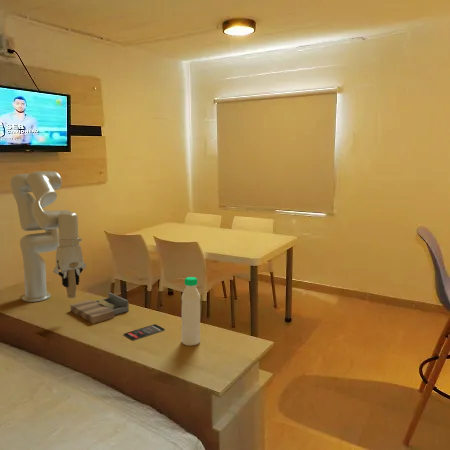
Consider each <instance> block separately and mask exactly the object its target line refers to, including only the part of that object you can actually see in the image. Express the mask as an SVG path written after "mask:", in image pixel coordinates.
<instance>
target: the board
mask: <svg viewBox="0 0 450 450" xmlns="http://www.w3.org/2000/svg"><path fill="white" fill-rule="evenodd" d="M95 301H96V300H93V299H87V300H83V301H80V302H76V303H72V304H70V306H69V308H70V312H71V313H73V314H75V315H77V316H78V317H80V318H81V319H84V320H85V321H86V322H88V323H91V324H92V325H94V324H96V323H97V324H98V323H101V322H105V321H107V320H110V319H115V316H114V311H113V310H111V309H109V308H107V307H105V306H103V305H101V304H99V303H97V302H95Z"/></svg>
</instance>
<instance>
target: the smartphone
mask: <svg viewBox="0 0 450 450" xmlns="http://www.w3.org/2000/svg"><path fill="white" fill-rule="evenodd" d="M161 332H165V328H163V327H162V326H161V325H158V324H155V323H154V324H151V325H148V326H144V327H141V328H138V329H134V330H132V331H128V332H125V333H123V337H126V338H127V339H129V340H130V341H132V342H133V341H137V340H139V339H143V338H145V337H149V336H151V335H155V334H158V333H161Z"/></svg>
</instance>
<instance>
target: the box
mask: <svg viewBox="0 0 450 450" xmlns="http://www.w3.org/2000/svg"><path fill="white" fill-rule="evenodd" d="M101 299H102V300H104V301H106V302H108V303H110V304H112V305H114V308H113V309H111V310H113V311H114V317H115V316H117V315H121V314H124V313H128V312H129V300H128V299H126V298H123V297H121V296H118V295H116V294H115V293H112V292H108V297H106V298H101ZM94 301H95V302H97V303H98V302H99V301H100V299H99V300H94ZM99 304H100V303H99ZM101 305H102V304H101ZM103 306H104V305H103ZM105 307H106V306H105ZM107 308H108V307H107ZM109 309H110V308H109Z"/></svg>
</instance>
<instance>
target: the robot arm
mask: <svg viewBox="0 0 450 450" xmlns="http://www.w3.org/2000/svg"><path fill="white" fill-rule="evenodd" d="M9 182H10V184H9V185H10V191H11V193H12V197H13V198H14V199H15V203H16V205H17V212H18V219H19V223H20V228H21V230H22V231H23V232H24V231H25V232H35V231H36V232H37V231H44V232H37V233H29V234H26V235H23V236H22V237H21V238H20V240H19V247H20V252H21V254H22V255H21V256H22V261H23V262H22V263H23V279H24V293H25V294H23V295H22V297H21V300H22V301H23V302H29V303H33V302H35V303H36V302H42V301H45V300H47V299H48V300H49V298H51V293H50V292H49V291H47V273H46V271H47V270H46V261H45V259H44V258H43V257H42V256H41V255H40V254H42V253H48V252H54V251H56V252H55V267H54V269H53V270H52V272H53V273H55V274H56V275H58V276H60V277H61V284H62V286H63V287H65V288H66V287H68V278H66V275H67V271H68V270H72V269H75V277H76V286H79V284H80V275H81V273H82V272H83V270H84V269H86V267H87V264H86V262H84V257H83V256H84V255H83V249H82V246H81V244H80V242H82V239H83V238H81V237H79V221H78V220H79V219H78V218H79V217H78V214H77V213H76V212H72V211H71V210H69V209H61V210H58V209H57V210H48V209H46V210H45V208H46V207H49V206H50V205H52V204H53V203H55V202H56V201H57V197H58V193H57V191H56V190H59V189H60V188H61V187H62V185H63V179H62V176H61V175H60V174H59V172H57V171H54V170H53V171H51V170H45V171H43V170H39V171H33V172H31V173H20V174H19V173H18V174H15V175H13V176H12V177H11V178H10V181H9ZM31 192H32V194H33V195H32V194H31ZM73 263H78V266H77V267H75V268H70V267H69V265H70V264H73Z"/></svg>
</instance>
